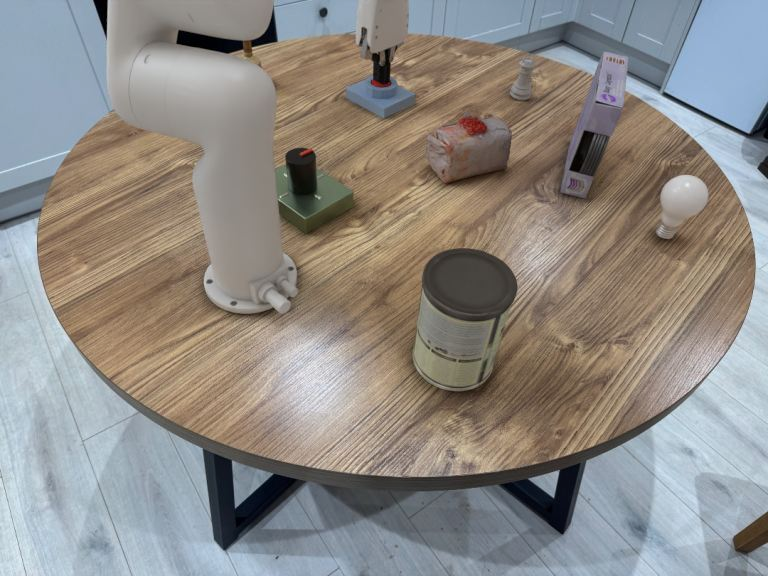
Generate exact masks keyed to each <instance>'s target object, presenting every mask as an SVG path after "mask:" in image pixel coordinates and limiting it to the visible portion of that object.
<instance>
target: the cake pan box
mask: <svg viewBox="0 0 768 576" xmlns="http://www.w3.org/2000/svg"><path fill="white" fill-rule="evenodd" d="M629 59H630V58H629V57H628V56H625V55H622V54H618V53H612V52H608V51H603V52H602V54H601V55H600V58H599V61H598V63H597V67H596V68H595V71H594V75H593V78H592V80H591V83H590V86H589V88H588V91H587V93H586V97H585V100H584V102H583V105H582V108H581V111H580V112H579V116H578V119H577V121H576V124H575V128H574V130H573V131H572V135H571V138H570V141H569V142H570V143H569V146H568V150H567V154H566V159H565V164H564V169H563V175H562V180H561V186H560V194H564V195H566V196H570V197H571V196H572V197H575V198H579V199H583V200H585V199H586V198H587V196H588V194H589V191H590V188H591V186H592V183H593V181H594V178H595V175H596V172H597V171H598V168H599V166H600V164H601V162H602V159H603V157H604V155H605V152H606V150H607V147H608V144H609V142H610V139H611V137H612V136H613V134H614V132H615V130H616V127H617V125H618V123H619V120H620V117H621V115H622V112H623V110H624V104H625V96H626V86H627V77H628V71H629V70H628V69H629Z"/></svg>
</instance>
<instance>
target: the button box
mask: <svg viewBox="0 0 768 576" xmlns="http://www.w3.org/2000/svg"><path fill="white" fill-rule="evenodd" d="M372 80H373V75H370V76H368V77H366V78H365V79H364V80H361V81H359V82H356V83H354V84H351V85H349V86H347V87H345V99H347V100H349V101H351V102H352V103H355V104H356V105H358V106H360V107H362V108H364V109H365V110H368V111H369V112H371V113H373V114H375V115H376V116H378V117H380V118H382V119H386V118H388V117H390V116H393V115H395V114H396V113H399V112H401V111H402V110H403V111H404V110H405V109H407V108H409V107H411V106H413V105H415V103H416V95H417V94H416V93H414V92H412V91H410V90H409V89H407V88H404V87H403V86H400V85H399V83H398V81H397V80H396V78H394V77H392V76H390V86H388V87H382V88H380V87H375V86H373V85H372Z"/></svg>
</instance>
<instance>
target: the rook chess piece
mask: <svg viewBox="0 0 768 576" xmlns="http://www.w3.org/2000/svg"><path fill="white" fill-rule="evenodd" d="M519 65H520V68H519V69H518V72H519V73H518V76H517V79H516V81H515V82H514V84H513V85H512V86H511V88H510V92H509V95H510V97H511V98H512V99H513V100H516V101H520V102H523V101H528V100H529V99H530V98H531V97H532V95H531V94H532V92H533V91H532V85H531V77H532V73H534V71H533V69H534V68H535V67H536V58H534V57H530V56H523V57H522V58H521V60H520V61H519Z"/></svg>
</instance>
